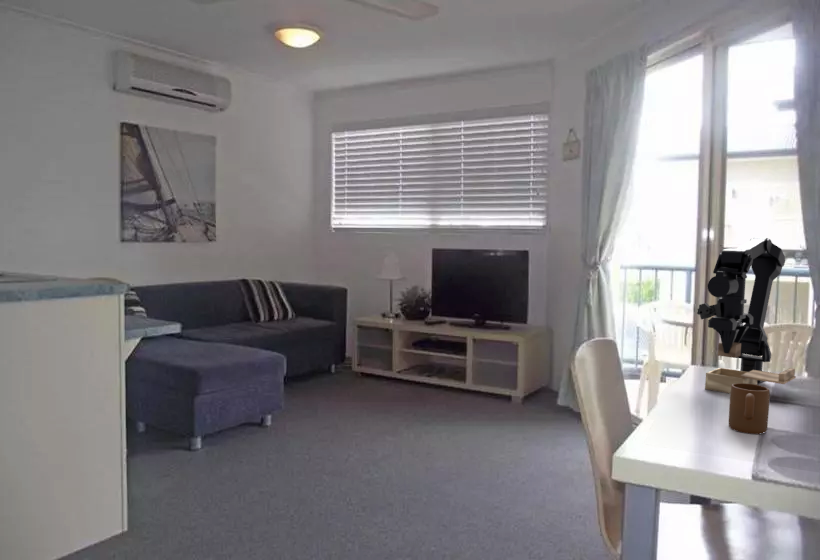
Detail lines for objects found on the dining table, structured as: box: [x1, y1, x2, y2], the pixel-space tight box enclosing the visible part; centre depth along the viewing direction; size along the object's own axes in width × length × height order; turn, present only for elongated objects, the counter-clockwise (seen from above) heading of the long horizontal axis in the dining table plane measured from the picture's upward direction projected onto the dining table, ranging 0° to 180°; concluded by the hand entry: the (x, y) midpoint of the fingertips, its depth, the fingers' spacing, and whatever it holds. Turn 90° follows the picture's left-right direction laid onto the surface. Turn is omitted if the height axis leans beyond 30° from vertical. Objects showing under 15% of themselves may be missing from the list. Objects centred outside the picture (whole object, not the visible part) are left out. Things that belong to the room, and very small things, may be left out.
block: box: [717, 341, 741, 359], centre depth 185 cm, size 4×4×4 cm
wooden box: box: [704, 367, 758, 394], centre depth 185 cm, size 11×10×4 cm
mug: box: [728, 383, 771, 435], centre depth 144 cm, size 12×8×9 cm, turn 153°
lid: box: [740, 367, 796, 385], centre depth 178 cm, size 11×10×2 cm
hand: (729, 352), depth 185 cm, fingers closed on block, 4 cm apart
